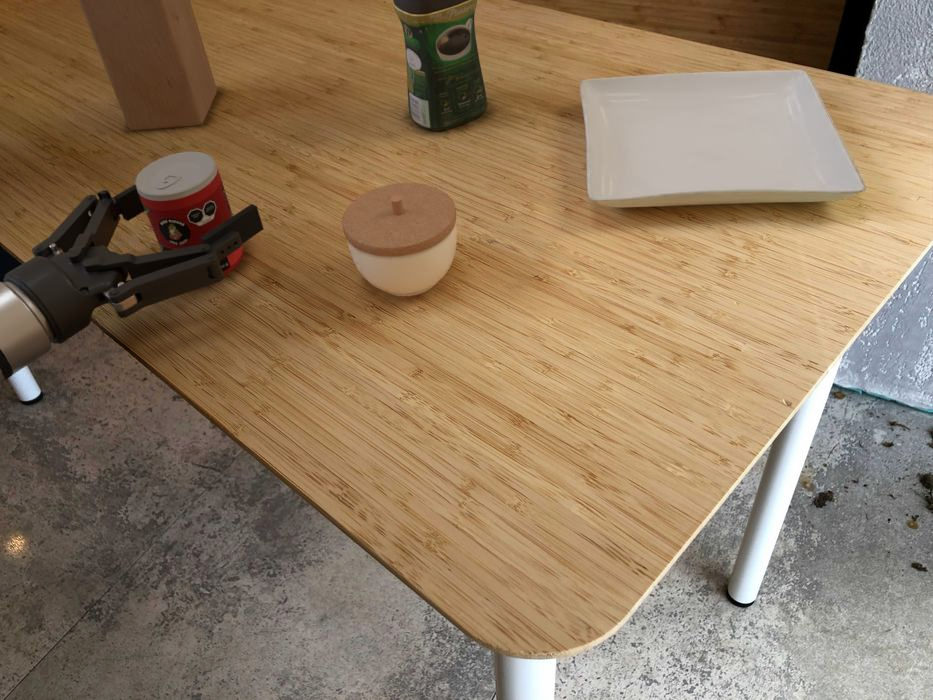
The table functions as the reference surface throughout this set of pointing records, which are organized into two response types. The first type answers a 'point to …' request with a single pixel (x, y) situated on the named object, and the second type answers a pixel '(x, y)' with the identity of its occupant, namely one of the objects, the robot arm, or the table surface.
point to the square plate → (713, 140)
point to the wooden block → (153, 60)
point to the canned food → (185, 201)
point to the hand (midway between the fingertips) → (213, 196)
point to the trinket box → (402, 236)
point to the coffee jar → (442, 62)
